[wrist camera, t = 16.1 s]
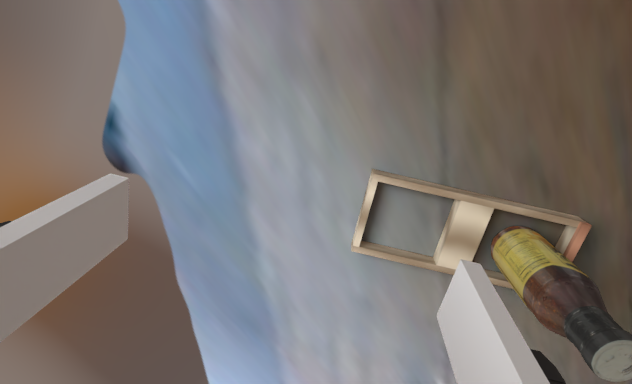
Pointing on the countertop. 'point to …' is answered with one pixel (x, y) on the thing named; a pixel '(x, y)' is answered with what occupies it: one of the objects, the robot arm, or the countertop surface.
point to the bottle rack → (462, 226)
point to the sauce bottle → (563, 300)
